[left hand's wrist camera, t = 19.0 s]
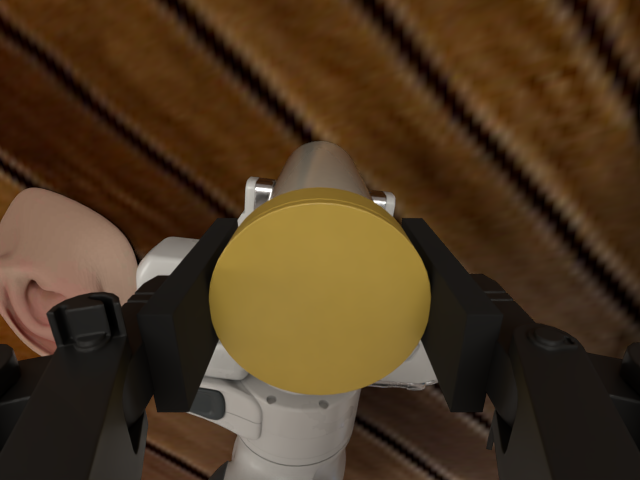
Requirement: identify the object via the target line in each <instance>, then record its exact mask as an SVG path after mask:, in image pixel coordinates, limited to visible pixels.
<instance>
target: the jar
mask: <svg viewBox="0 0 640 480" xmlns="http://www.w3.org/2000/svg"><path fill="white" fill-rule="evenodd" d="M315 187H324V188H336V189H341V190H346V191H350V192H353V193H356V194H359V195H361V196H363V197H365V198H367V199H369V200H372V201H373V199H372V197H371V195H370V193H369V191H368V189H367V187H366V185H365V183H364V181H363V179H362V177H361V175H360V173H359V172H358V170H357V168H356V166H355V164H354V162H353V160H352V158H351V157H350V156H349V154H348V153H347V152H346V151H345V150H344V149H342V148H341V147H339V146H337V145H335V144H333V143H330V142H325V141H315V142H310V143H307V144H305V145H303V146H301V147H299V148H298V149H296V150H295V151H294V152H293V153H292V154H291V156H290V157H289V158H288V160H287V162H286V164H285V166H284V168H283V170H282V171H281V173H280V175H279V177H278V179H277V181H276V183H275V185H274V187H273V189H272V191H271V193H270V195H269V197H268V198H267V200H266V202H267V201H269V200H271V199H273V198H275V197H277V196H279V195H281V194H284V193H287V192H290V191H294V190H299V189H304V188H315ZM373 202H374V201H373Z"/></svg>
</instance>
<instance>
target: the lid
mask: <svg viewBox="0 0 640 480" xmlns="http://www.w3.org/2000/svg"><path fill="white" fill-rule="evenodd" d="M430 303H431V289H430V282H429V278H428V274H427V270H426V268H425V266H424V264H423V261H422V259H421V257H420V256H419V254H418V252H417V251H416V249H415V248H414V246H413V244H412V243H411V241H410V240H409V238H408V236H407V235H406V233H405V232H404V230H403V229H402V227H401V226H400V224H399V223H398V222H397V221H396V220H395V219H394V217H393V216H392V215H390V214H389V213H388V212H387V211H386V210H385V209H384V208H382V207H381V206H379V205H378V204H376V203H375V202H373V201H372V200H369V199H367V198H365V197H363V196H361V195H359V194H356V193H353V192H350V191H346V190H341V189H336V188H324V187H315V188H304V189H299V190H294V191H290V192H287V193H284V194H281V195H279V196H277V197H275V198H273V199H271V200H269V201H267V202H265V203H264V204H262V205H261V206H259V207H258V208H256V209H255V210H254V211H253V212H252V213H251V214H250V215H248V216H247V217H246V218H245V220H244V221H243V222H242V223H241V224H240V226H239V227H238V228H237V230H236V231H235V233H234V235H233V236H232V238H231V239H230V241H229V243H228V244H227V246H226V247H225V249H224V251H223V252H222V254H221V256H220V257H219V259H218V261H217V263H216V266H215V268H214V270H213V274H212V278H211V282H210V288H209V305H210V313H211V320H212V324H213V326H214V329H215V332H216V334H217V336H218V338H219V340H220V342H221V344H222V345H223V347H224V348H225V349H226V351H227V352H228V354H229V355H230V356H231V357H232V358H233V359H234V360H235V361H236V362H237V364H238V365H240V366H241V367H242V368H243V369H245V370H246V371H247V372H248V373H250V374H251V375H253V376H254V377H256V378H257V379H259V380H261V381H263V382H265V383H267V384H269V385H271V386H274V387H277V388H279V389H282V390H286V391H290V392H294V393H300V394H307V395H334V394H340V393H346V392H350V391H354V390H358V389H361V388H363V387H366V386H368V385H371V384H373V383H375V382H377V381H379V380H381V379H383V378H384V377H386V376H387V375H389V374H390V373H392V372H393V371H394V370H395V369H397V368H398V367H399V366H400V365H401V364H402V363H403V362H404V361H405V360H406V359H407V358H408V357H409V356H410V355H411V354H412V352H413V351H414V349H415V348H416V347H417V345H418V343H419V342H420V340H421V338H422V336H423V334H424V332H425V329H426V326H427V323H428V319H429V311H430Z"/></svg>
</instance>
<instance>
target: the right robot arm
mask: <svg viewBox="0 0 640 480" xmlns="http://www.w3.org/2000/svg"><path fill="white" fill-rule="evenodd" d="M275 183H276V180H273V179H266V178H259V177H250V178H249V179H248V180H247V184H246V192H245V210H244V211H243V213H242V214H241V216H240V217H239V219H238V227H239V226H240V224H241V223H242V222H243V221H244V220H245V218H246V217H247V216H248V215H250V214H251V213H252V212H253V211H254V210H255V209H256V208H258V207H259V206H261V205H262V204H264V203H265V202H266V200H267V198H268V197H269V195H270V193H271V191H272V189H273V187H274V185H275ZM368 191H369V193H370V195H371V197H372V199H373V201H374V202H375V203H376V204H378V205H379V206H381V207H382V208H384V209H385V210H386V211H387V212H388V213H389V214H390V215H392V216H393V213H394V208H395V196H394V195H393V194H392V192H383V191H373V190H368ZM198 241H199V239H189V238H180V237H168V238H166V239H164V240H163V241H162V242H160V243H159V244H158V245H157V246H155V247H154V248H153V249H152V250H151V251H150V252H149V253H148V254H147V255H146V256H145V257H144V258H143V259H142V261H141V262H140V264H139V266H138V268H137V271H136V287H137V290H138V289H139V287H140V286H141V285H142V284H143V283H145V282H147V281H148V280H150V279H152V278H154V277H156V276H157V275H170V274H171V273H172V272H173V271H174V269H175V268H176V267H177V266H178V265H179V263H180V262H181V261H182V260H183V259H184V258H185V256H186V255H187V254H188V253H189V252H190V250H191V249H192V248H193V247H194V246H195V244H196V243H197V242H198ZM435 383H438V380H437V378H436V375H435V373H434V371H433V368H432V366H431V363H430V361H429V359H428V356H427V354H426V351H425V349H424V347H423V344H422V342H421V340H420V342H419V343H418V345H417V347H416V348H415V349H414V351H413V352H412V354H411V355H410V356H409V357H408V358H407V359H406V360H405V361H404V362H403V363H402V364H401V365H400V366H399V367H398V368H397V369H395V370H394V371H393V372H392V373H390V374H389V375H387V376H386V377H384V378H383V379H381V380H379V381H377V382H375V383H373V384H371V385H368V387H379V388H395V387H396V388H399V387H400V388H405V389H407V390H413V391H418V390H424V389H425V387H426V386H427V385H432V384H435ZM360 392H361V389H358V390H354V391H350V392H346V393H340V394H334V395H307V394H300V393H294V392H290V391H286V390H282V389H279V388H277V387H274V386H271V385H269V384H267V383H265V382H263V381H261V380H259V379H257V378H256V377H254V376H253V375H251V374H250V373H248V372H247V371H246V370H245V369H243V368H242V367H241V366H240V365H238V364H237V362H236V361H235V360H234V359H233V358H232V357H231V356H230V355H229V354H228V352H227V351H226V349H225V348H224V347H223V345H222V344H221V342H220V340H219V341H218V344H217V346H216V348H215V351H214V353H213V356H212V358H211V360H210V363H209V365H208V368H207V370H206V373H205V375H204V377H203V380H202V382H201V385H200V387H199V389H198V392H197V394H196V397H195V399H194V401H193V404H192V406H191V409H190V411H189V412H187V413H190V414H192V415H195V416H198V417H201V418H204V419H206V420H209V421H211V422H213V423H216V424H218V425H220V426H222V427H224V428H226V429H228V430H230V431H232V432H234V433H236V434H237V438H236V440H235V444H234V448H233V453H232V461H231V462H229V461H227V462H225V463H224V464H223V465H222V466H220V467H219V468H218V469H217V470H216V471H215V472H214V474H213V475H212V476H211V477H210V478H209V479H208V480H343V477H344V473H345V466H346V451H345V447H346V446H347V444H348V442H349V440H350V437H351V435H352V431H353V427H354V422H355V417H356V412H357V407H358V402H359V397H360Z"/></svg>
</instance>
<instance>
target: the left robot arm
mask: <svg viewBox="0 0 640 480" xmlns="http://www.w3.org/2000/svg"><path fill="white" fill-rule="evenodd" d="M639 118H640V106H639ZM237 228H238V219H237V218H217V220H216V221H215V222H214V223H213V224H212V225H211V227H210V228H209V229H208V230H207V231H206V233H205V234H204V235H203V236H202V237H201V239H200V240H199V241H198V242H197V243H196V244H195V246H194V247H193V248H192V249H191V250H190V252H189V253H188V254H187V255H186V256H185V258H184V259H183V260H182V261H181V262H180V263H179V265H178V266H177V267H176V268H175V269H174V271H173V272H172V273H171V274H170V275H157V276H156V277H154V278H152V279H150V280H148V281H147V282H145V283H143V284H142V285H141V286H140V287H139V289H138V290H137V291H136V292H135V294H134V295H132V296H131V297H130V298H129V299H128V300H127V303H124V304H123V305H122V306H121V304H120V300H119V297H118V296H117V295H115V294H114V293H108V292H91V293H87V294H82V295H78V296H75V297H72V298H69V299H67V300H64V301H62V302H60V303H59V304H57V305H55V306H53V307H52V308H51V309H50V310H49V311H48V312H47V313H46V315H47V318H48V321H49V324H50V328H51V331H52V334H53V337H54V340H55V343H56V346H57V348H56V350H55V352H54V354H52V355H47V356H42V357H37V358H32V359H27V360H21V361H17V358H16V356H15V353H14V351H13V348H11V347H10V346H8V345H7V344H0V480H141V475H142V467H143V460H144V452H145V444H146V437H147V429H148V421H147V415H146V411H145V408H146V406H147V405H148V403H149V401H150V399H151V397H152V396H153V394H154V399H155V403H156V408H157V412H189V411H190V409H191V406H192V404H193V401H194V399H195V397H196V394H197V392H198V389H199V387H200V385H201V382H202V380H203V377H204V375H205V373H206V370H207V368H208V365H209V363H210V360H211V358H212V356H213V353H214V351H215V348H216V346H217V344H218V341H219V338H218V336H217V334H216V332H215V329H214V326H213V324H212V320H211V313H210V305H209V288H210V282H211V278H212V274H213V270H214V268H215V266H216V263H217V261H218V259H219V257H220V256H221V254H222V252H223V251H224V249H225V247H226V246H227V244H228V243H229V241H230V239H231V238H232V236H233V235H234V233H235V231H236V230H237ZM402 229H403V230H404V232H405V233H406V235H407V236H408V238H409V240H410V241H411V243H412V244H413V246H414V248H415V249H416V251H417V252H418V254H419V256H420V257H421V259H422V261H423V264H424V266H425V268H426V270H427V274H428V278H429V282H430V289H431V303H430V311H429V319H428V323H427V326H426V329H425V332H424V334H423V336H422V338H421V342H422V344H423V347H424V349H425V351H426V354H427V356H428V359H429V361H430V363H431V366H432V368H433V371H434V373H435V375H436V378H437V380H438V383H439V385H440V388H441V390H442V392H443V395H444V397H445V400H446V402H447V404H448V407H449V409H450V412H483V407H484V402H485V398H486V393H487V394H488V396H489V398H490V399H491V401H492V403H493V405H494V407H495V411H494V415H493V420H492V424H491V428H490V433H489V437H488V441H487V448H486V449H489V450H492V446H493V442H494V443H495V451H496V459H497V466H498V474H499V480H640V342H636V343H632V344H631V345H629V346H628V347H627V350H626V352H625V355H624V358H623V360H622V359H617V358H612V357H607V356H602V355H596V354H591V353H587V352H586V351H585V349H584V348H583V346H582V345H581V344H580V343H579V341H578V340H577V339H575V338H574V337H572V336H571V335H569V334H568V333H566V332H564V331H562V330H560V329H557V328H555V327H552V326H548V325H544V324H538V323H535V322H534V321H533V320H532V319H531V318H530V317H529V316H528V314H527V313H526V312H525V311H524V310H523V309H522V308H521V307H520V306H519V305H518V304H517V303H516V302H515V301H513V299H512V298H511V297H510V296H509V295H508V293H506V291H505V290H504V289H503V288H502V287H501V286H500V285H499V284H498V283H497V282H496V281H494V280H492V279H490V278H488V277H487V276H485V275H483V274H469V273H468V272H467V271H466V270H465V269H464V267H463V266H462V265H461V264H460V263H459V261H458V260H457V259H456V258H455V257H454V255H453V254H452V253H451V252H450V251H449V250H448V248H447V247H446V246H445V245H444V244H443V242H442V241H441V240H440V239H439V238H438V236H437V235H436V234H435V233H434V232H433V231H432V229H431V228H430V227H429V226H428V225H427V223H426V222H425V221H424V220H423V219H422V218H402Z"/></svg>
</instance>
